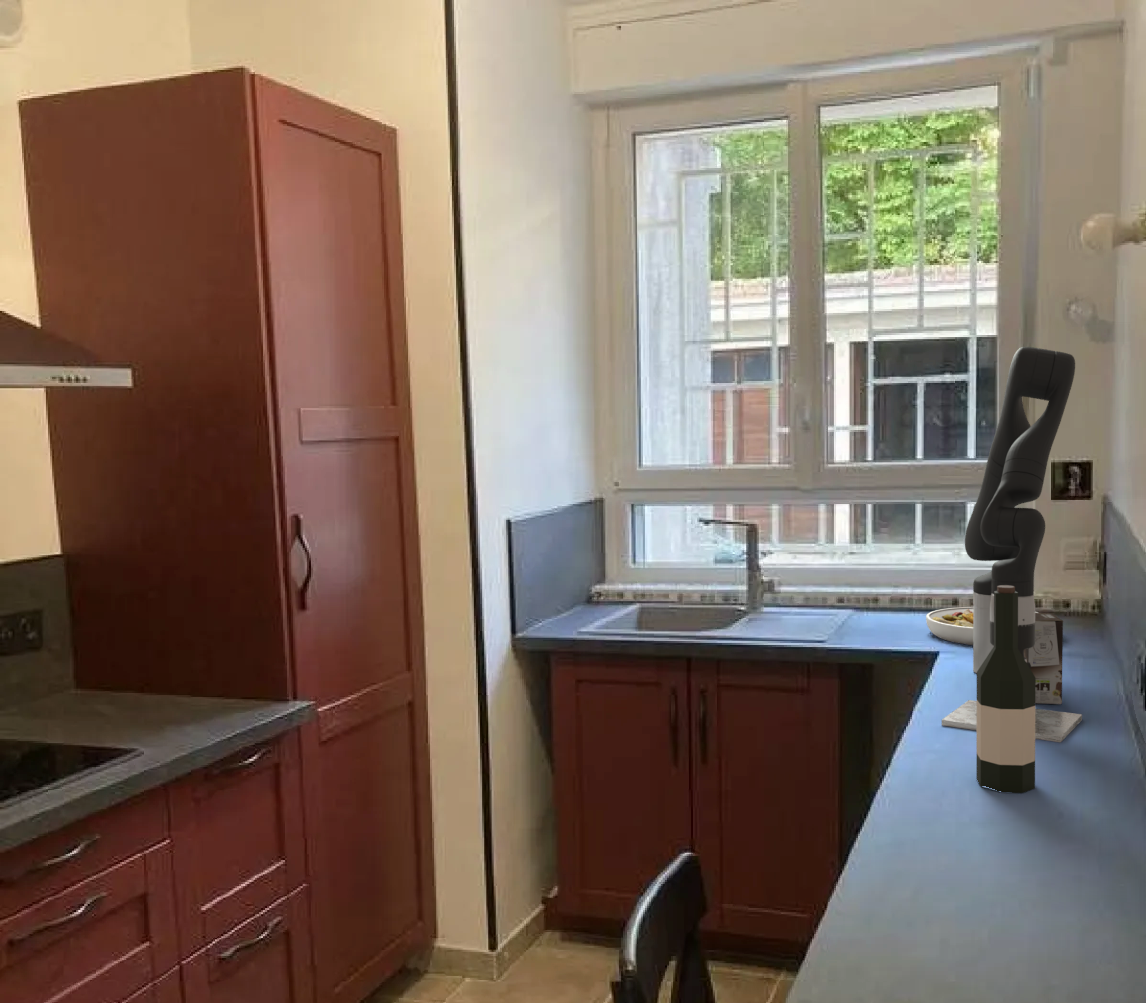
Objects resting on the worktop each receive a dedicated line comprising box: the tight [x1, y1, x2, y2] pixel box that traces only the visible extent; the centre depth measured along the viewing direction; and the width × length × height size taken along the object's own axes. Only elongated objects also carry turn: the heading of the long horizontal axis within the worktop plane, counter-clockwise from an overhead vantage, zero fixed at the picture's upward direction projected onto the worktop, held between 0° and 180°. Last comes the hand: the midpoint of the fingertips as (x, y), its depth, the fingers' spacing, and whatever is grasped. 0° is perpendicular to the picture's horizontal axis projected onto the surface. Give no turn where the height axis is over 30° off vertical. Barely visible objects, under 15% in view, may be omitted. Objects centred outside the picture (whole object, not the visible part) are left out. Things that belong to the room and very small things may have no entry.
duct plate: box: [941, 699, 1083, 743], centre depth 198 cm, size 16×20×6 cm
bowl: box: [925, 606, 1039, 646], centre depth 273 cm, size 30×30×8 cm
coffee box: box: [1024, 612, 1064, 705], centre depth 214 cm, size 9×6×16 cm
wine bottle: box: [975, 585, 1036, 794], centre depth 165 cm, size 8×8×30 cm
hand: (1012, 711), depth 198 cm, fingers closed on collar, 6 cm apart
